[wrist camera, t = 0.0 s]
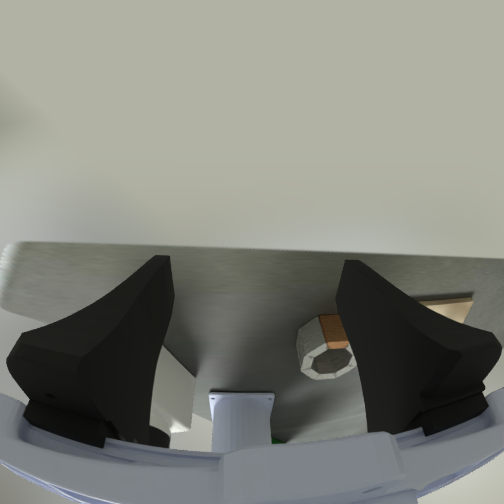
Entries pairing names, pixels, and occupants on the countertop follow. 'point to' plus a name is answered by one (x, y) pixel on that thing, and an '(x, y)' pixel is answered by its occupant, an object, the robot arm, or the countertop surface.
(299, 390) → the countertop surface
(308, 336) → the collar
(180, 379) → the medicine bottle
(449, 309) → the duct board
